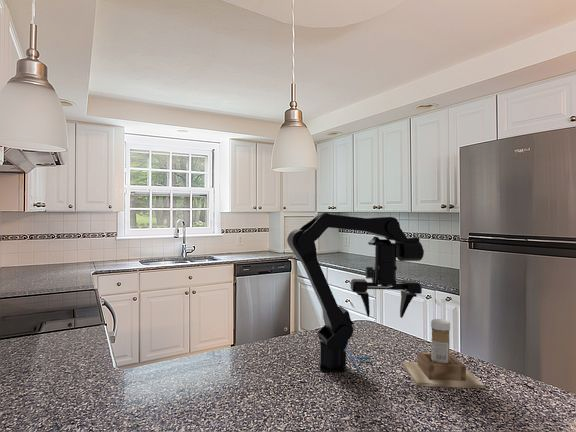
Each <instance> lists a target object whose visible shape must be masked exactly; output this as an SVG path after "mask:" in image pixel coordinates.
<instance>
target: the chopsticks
mask: <svg viewBox="0 0 576 432" xmlns="http://www.w3.org/2000/svg"><path fill="white" fill-rule="evenodd" d="M345 350H346V352H347V353H348V354H349V356H350V358H351V360H352V361H353V363H354V365H355V367H356V369H357V371H358V372H359V374H360V373H361V370H360V369H359V367H358V365H357V363H356V361H355V358H354V357H353V356H352V354H351V352H350V351H349V349H348V347H347V346H346V349H345ZM356 359H358V360H371V356H370V357H369V356H357V357H356Z"/></svg>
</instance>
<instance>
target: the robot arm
mask: <svg viewBox="0 0 576 432" xmlns="http://www.w3.org/2000/svg"><path fill="white" fill-rule="evenodd" d="M328 228H330V229H331V228H332V229H341V230H350V231H360V232H364V233H367V234H370V235H374V236H373V238H372V239H370V240H369V241H368V242H367V245H370V246H375V249H374V251H375V253H374V254H375V255H374V257H375V258H374V260H375V261H374V268H373V266H371V267H370V266H367V267H365V278H366V279H367V280H368V279H369V280H370V279H371V281H370V282H369V281H367V280H366V279H364V278H353V279H351V280H350V289H351V291H352V292H353V293H356V294H357V296H360V298H361V300H362V302H363V306H364V309H365V312H366V313H365V314H366V316H367V317H370V313H371V311H370V295H369V293H368V290H388V291H389V290H393V291H394V290H395V291H396V290H397V291H400V297H401V298H400V305H399V306H400V307H399V317H400V319H402V318H403V317H404V316H405V313H406V311H407V310H408V309H407V308H408V306H409V304H410V303H411V301H413V299H414V298H416V297H417V295H421V294H422V291H423V288H422V287H423V286H422V284H421V283H419V282H418V281H417V280H414V279H413V280H411V279H410V280H405V279H403V280H402V281H401V282H397V268H398V267H397V260H398V261H399V262H420V261H422V259H423V258H424V254H425V251H424V248H423V245H422V243H421V242H420V238H419V237H412V236H411V237H407V236H406V234H405V232H404V231H403V230H402V228H401V224H400V222H399V220H398V219H397V218H396V217H394V216H379V217H375V216H374V217H356V216H348V215H339V214H332V213H328V212H320V213H318V214H316V216H315V217H313V218H312V219H311V220H310V221H308V222H306V223H305V224H304V225H302V226H300V228H299V229H293V230H292V231H291V232H290V233H289V234H288V236H287V239H286V242H287V245H288V246H289V248H290V250H291V251H292V253H293V254H294V255H295V256H296V257H297V259H298V260H299V261H300V263H301V265H302V267H303V268H304V271H305V273H306V275H307V277H308V280H309V282H310V284H311V286H312V289H313V291H314V293H315V296H316V297H317V300H318V302H319V304H320V306H321V310H322V318H323V319H322V320H323V323H324V324H323V326H322V327H321V328H320V329H319V331H317V333H316V334H317V337H318V339H319V341H320V342H319V360H318V364H319V371H320V372H337V373H341V372H342V373H343V372H344V373H345V372H346V371H345V368H346V367H347V349H346V347H347V345H348V342H349V340H350V339H352V336H353V334H354V331H355V330H354V326H353V325H355V323H354V322H353V321H352V319H351V315H350V313H349V311H348V310H347V309H346V308H344V307H343V306H341V305H338V304H337V301H336V299H335V296H334V294H333V292H332V289H331V288H330V285H329V283H328V281H327V278H326V277H325V274H324V271H323V270H322V267H321V265H320V263H319V261H318V254H317V252H318V251H317V246H316V243H315V241H317V240H318V239H319V238H320V237H321V236H322V235H323V234H324V233H325V231H326V230H328ZM379 237H382V238H379ZM383 238H384V239H383ZM392 241H394V242H392Z"/></svg>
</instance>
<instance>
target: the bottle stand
mask: <svg viewBox="0 0 576 432" xmlns="http://www.w3.org/2000/svg"><path fill="white" fill-rule="evenodd" d="M402 366H403V367H404V369H405V371H406V372H407V373H408V375H409V377H410V378H411V379H412V381H413V382H414V383H415V385H416V386H417V387H435V388H436V387H437V388H438V387H439V388H440V387H441V388H465V389H466V388H467V389H472V388H473V389H485V384H484V383H483V382H482V381H481V380H480V379H478V378H477V377H476V376H475V375H474V374H473V373H472V372H471V371H470V370H468V368H467V366H466V365H465V364H464V363H463V362H462V361H460V359H458V358H457V357H456V356H455V355H454V354H453V353H451V352H450V361H449V364H432V359H431V352H427V351H426V352H423V351H418V352H417V362H415V361H402Z"/></svg>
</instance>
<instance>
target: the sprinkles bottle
mask: <svg viewBox="0 0 576 432" xmlns="http://www.w3.org/2000/svg"><path fill="white" fill-rule="evenodd" d="M430 324H431V325H430V326H431V350H430V351H431V352H430V353H431V359H432V364H449V361H450V353H451V352H450V350H451V349H450V331H451V322H450V321H448V320H445V319H443V318H442V319H441V318H433V319H432V320H431V322H430Z"/></svg>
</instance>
